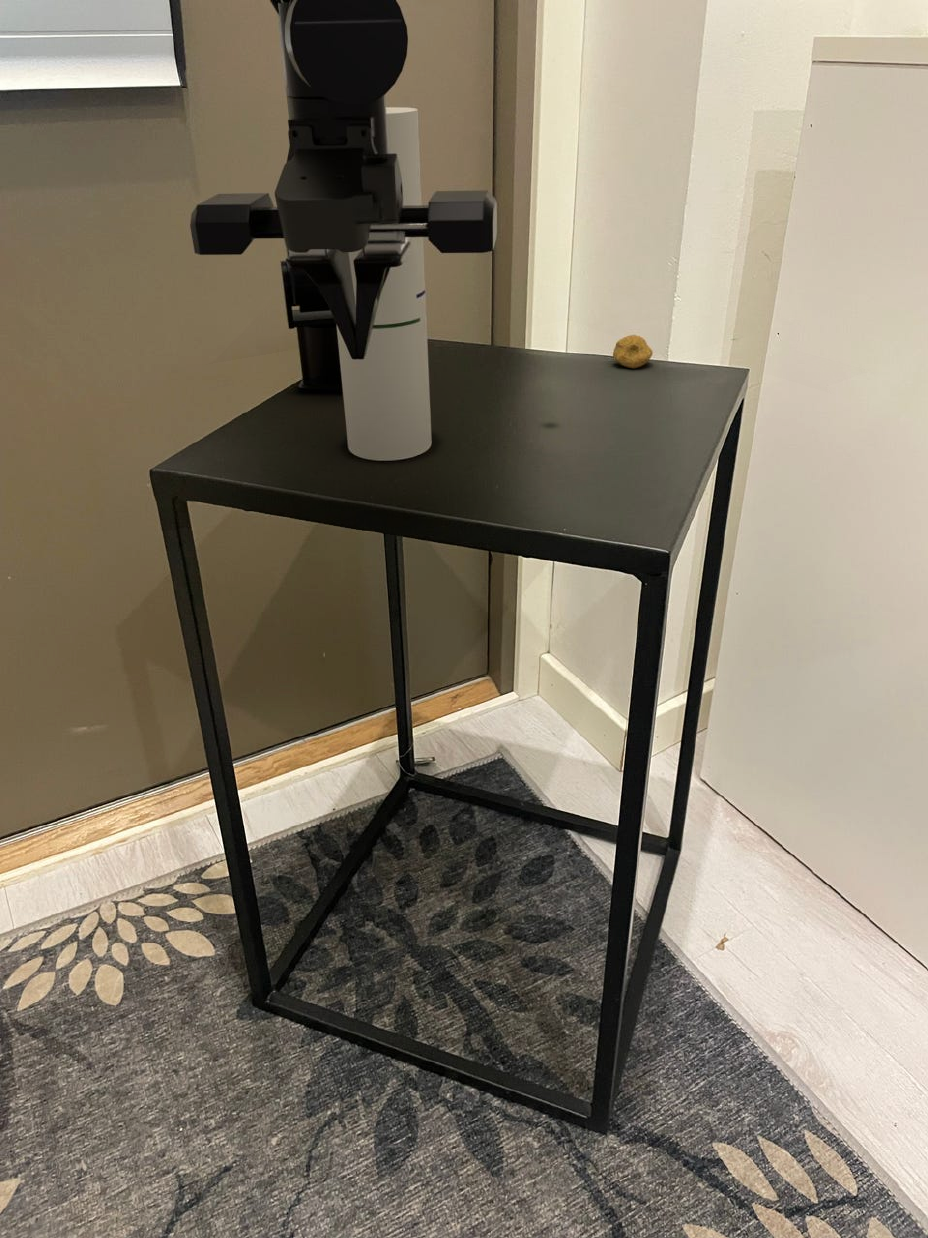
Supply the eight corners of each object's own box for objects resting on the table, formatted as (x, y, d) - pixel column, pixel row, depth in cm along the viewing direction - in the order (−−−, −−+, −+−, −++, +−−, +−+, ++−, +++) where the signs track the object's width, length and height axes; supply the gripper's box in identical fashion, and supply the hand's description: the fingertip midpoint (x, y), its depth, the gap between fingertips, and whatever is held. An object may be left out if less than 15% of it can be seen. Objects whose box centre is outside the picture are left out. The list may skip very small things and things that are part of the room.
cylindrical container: (443, 433, 80) (432, 107, 67) (413, 464, 75) (394, 114, 61) (368, 425, 82) (343, 106, 69) (333, 455, 77) (298, 114, 63)
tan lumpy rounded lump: (606, 364, 96) (608, 337, 94) (634, 357, 98) (636, 330, 96) (630, 372, 93) (633, 344, 92) (658, 364, 95) (661, 337, 94)
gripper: (132, 108, 48) (187, 397, 57) (487, 102, 47) (489, 398, 55) (199, 95, 58) (238, 344, 66) (497, 89, 56) (497, 344, 65)
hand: (359, 357), depth 63 cm, fingers closed
